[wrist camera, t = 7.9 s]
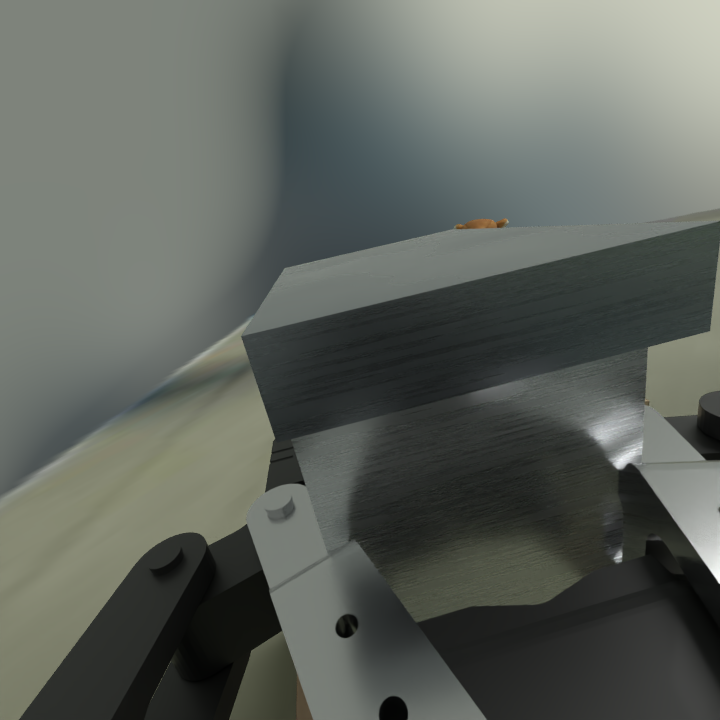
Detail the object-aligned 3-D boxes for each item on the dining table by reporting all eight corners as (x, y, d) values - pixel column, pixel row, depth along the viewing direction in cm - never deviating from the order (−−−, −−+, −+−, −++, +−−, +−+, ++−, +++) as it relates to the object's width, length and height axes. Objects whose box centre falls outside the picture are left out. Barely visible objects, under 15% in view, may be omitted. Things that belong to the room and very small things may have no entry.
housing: (487, 516, 15) (452, 229, 11) (659, 785, 7) (722, 220, 4) (362, 551, 14) (284, 268, 11) (418, 864, 7) (240, 336, 4)
